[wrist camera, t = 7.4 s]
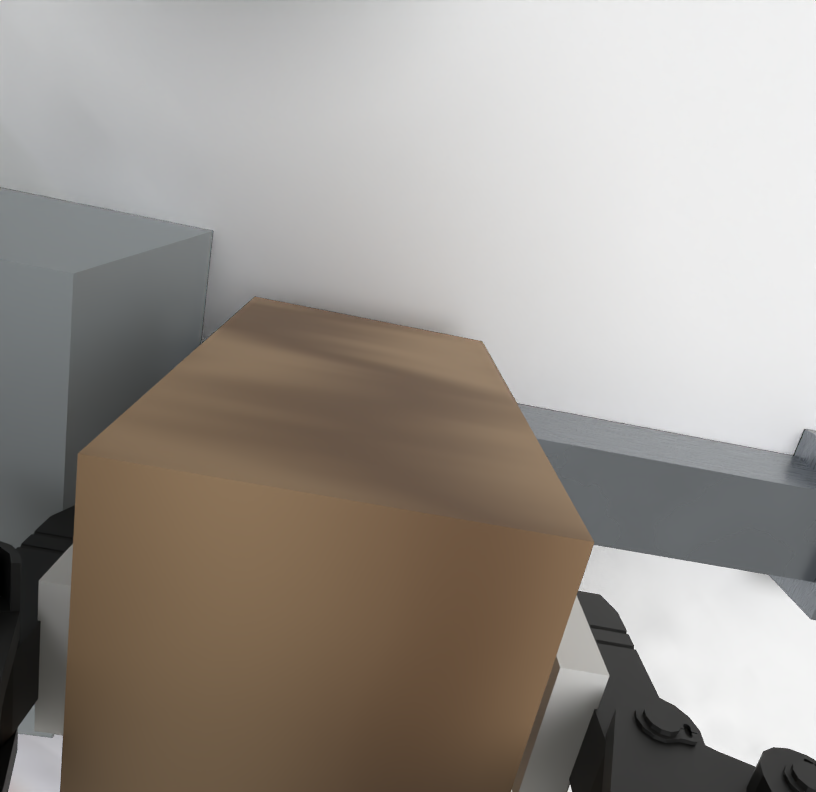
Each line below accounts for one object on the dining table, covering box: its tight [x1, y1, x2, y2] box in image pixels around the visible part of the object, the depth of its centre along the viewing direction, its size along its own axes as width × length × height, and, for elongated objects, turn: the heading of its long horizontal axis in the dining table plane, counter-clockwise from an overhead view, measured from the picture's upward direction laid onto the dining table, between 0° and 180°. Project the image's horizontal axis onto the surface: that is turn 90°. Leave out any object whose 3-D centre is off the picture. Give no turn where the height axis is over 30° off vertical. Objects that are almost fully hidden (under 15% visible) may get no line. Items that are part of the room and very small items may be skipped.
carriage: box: [60, 297, 594, 792], centre depth 15 cm, size 6×8×13 cm
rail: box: [170, 344, 816, 620], centre depth 20 cm, size 22×5×4 cm, turn 78°
